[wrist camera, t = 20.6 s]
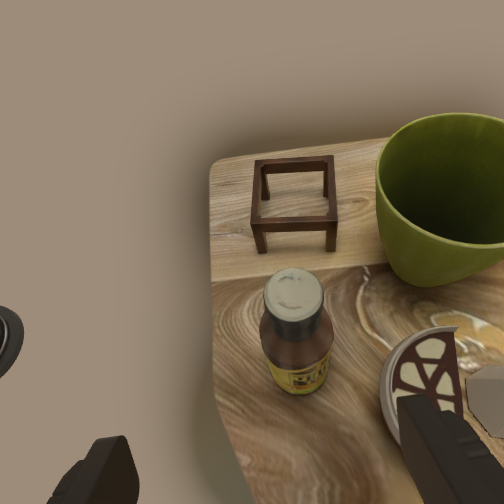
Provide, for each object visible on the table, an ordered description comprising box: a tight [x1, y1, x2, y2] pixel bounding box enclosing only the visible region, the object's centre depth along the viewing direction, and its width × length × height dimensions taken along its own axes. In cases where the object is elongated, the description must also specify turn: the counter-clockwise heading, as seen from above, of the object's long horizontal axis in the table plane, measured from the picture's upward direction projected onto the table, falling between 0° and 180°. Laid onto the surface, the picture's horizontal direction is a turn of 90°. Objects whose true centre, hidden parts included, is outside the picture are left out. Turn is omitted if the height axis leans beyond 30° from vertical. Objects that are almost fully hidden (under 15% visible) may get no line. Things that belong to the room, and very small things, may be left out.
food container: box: [379, 325, 464, 448], centre depth 34 cm, size 12×6×10 cm, turn 171°
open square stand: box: [250, 155, 338, 253], centre depth 48 cm, size 10×10×7 cm
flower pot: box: [376, 113, 504, 287], centre depth 39 cm, size 15×15×16 cm
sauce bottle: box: [259, 268, 334, 395], centre depth 33 cm, size 6×6×20 cm
